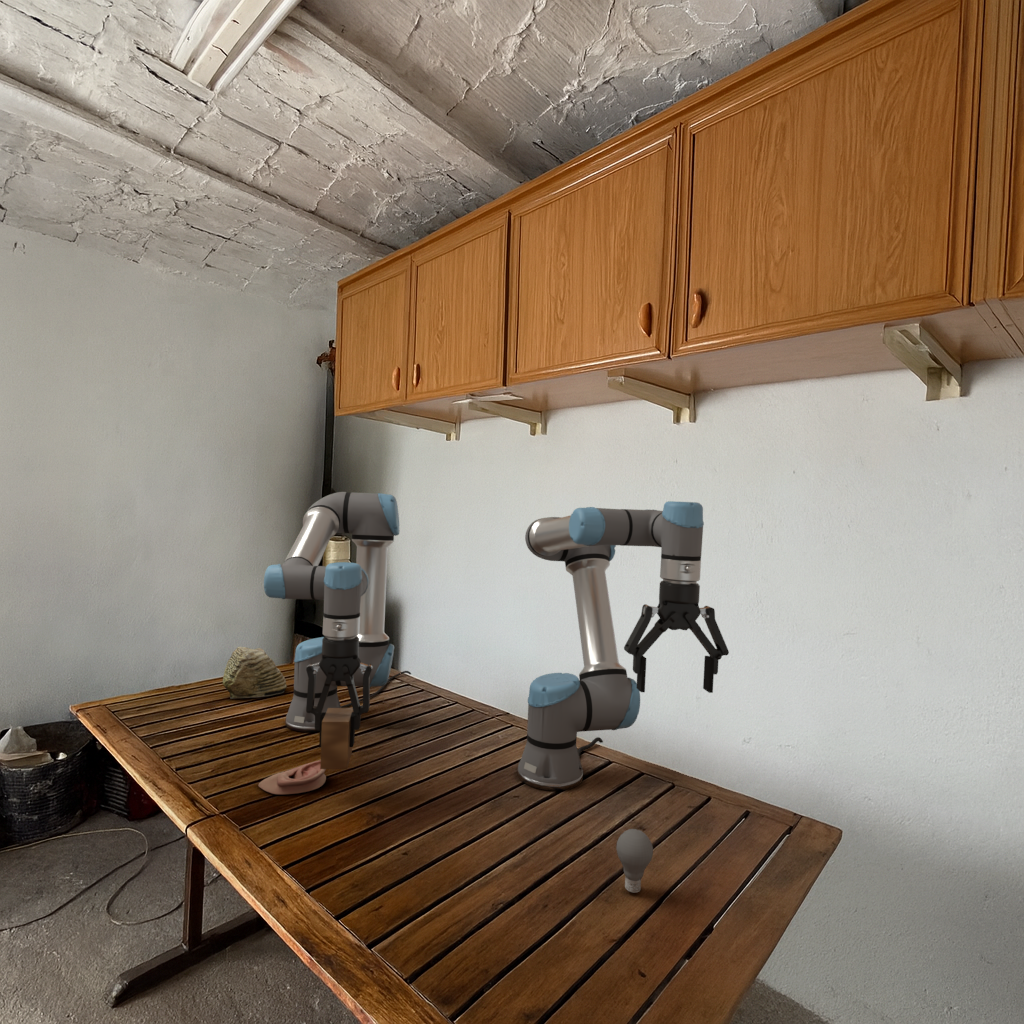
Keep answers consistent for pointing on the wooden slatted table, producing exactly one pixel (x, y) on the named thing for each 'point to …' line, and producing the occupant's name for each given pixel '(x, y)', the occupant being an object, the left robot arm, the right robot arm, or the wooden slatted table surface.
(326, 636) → the left robot arm
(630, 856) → the light bulb
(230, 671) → the fossil
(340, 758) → the brick
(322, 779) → the anatomical model
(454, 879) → the wooden slatted table surface
